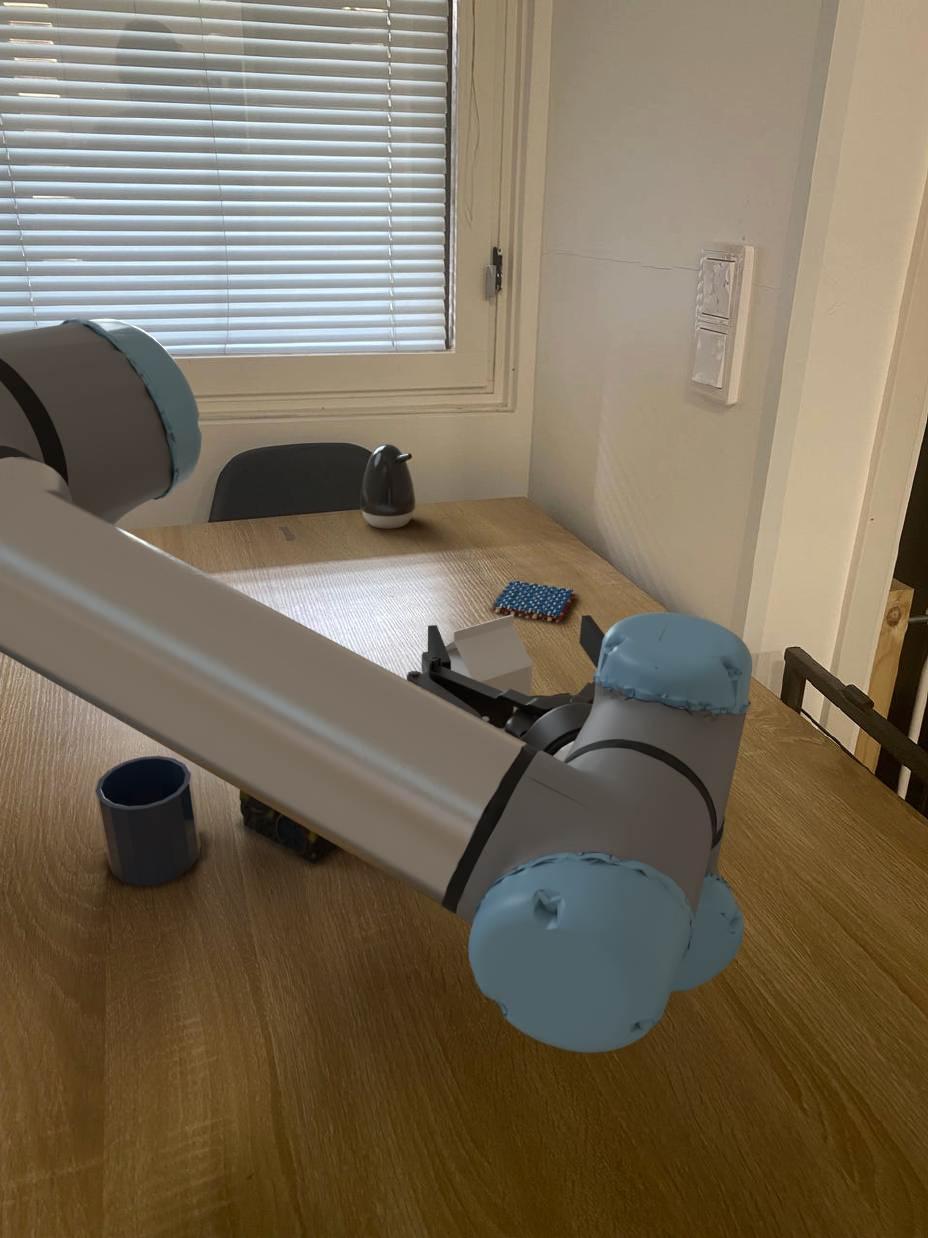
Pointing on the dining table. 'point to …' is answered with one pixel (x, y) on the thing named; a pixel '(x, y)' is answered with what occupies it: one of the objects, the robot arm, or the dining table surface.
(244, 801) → the candle
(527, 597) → the woven mat
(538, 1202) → the dining table surface
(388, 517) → the pump dispenser
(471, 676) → the milk carton
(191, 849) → the blue cup
